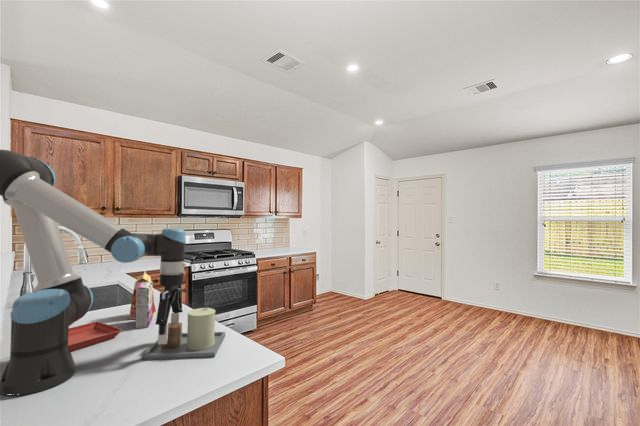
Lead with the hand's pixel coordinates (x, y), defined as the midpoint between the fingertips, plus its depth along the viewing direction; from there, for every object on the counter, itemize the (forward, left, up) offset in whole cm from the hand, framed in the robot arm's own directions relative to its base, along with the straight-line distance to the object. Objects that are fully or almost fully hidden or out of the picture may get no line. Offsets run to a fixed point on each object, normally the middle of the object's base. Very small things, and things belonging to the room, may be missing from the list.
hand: (168, 337), depth 105 cm
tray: (0, -6, -3) cm, 7 cm away
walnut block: (0, -1, -3) cm, 3 cm away
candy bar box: (+25, +19, -4) cm, 31 cm away
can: (0, -11, -3) cm, 11 cm away
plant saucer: (+9, +33, -4) cm, 34 cm away
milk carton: (+36, +24, -4) cm, 43 cm away
